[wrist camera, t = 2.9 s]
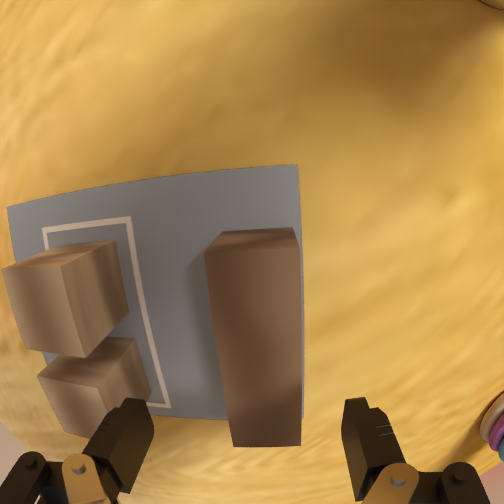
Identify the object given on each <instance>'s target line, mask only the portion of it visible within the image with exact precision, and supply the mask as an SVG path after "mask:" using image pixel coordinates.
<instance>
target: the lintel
mask: <svg viewBox="0 0 504 504" xmlns="http://www.w3.org/2000/svg"><path fill="white" fill-rule="evenodd" d="M204 259H205V268H206V276H207V284H208V292H209V299H210V307H211V314H212V321H213V328H214V335H215V342H216V348H217V355H218V361H219V368H220V374H221V380H222V386H223V392H224V398H225V404H226V409H227V415H228V420H229V426H230V431H231V437H232V442H233V447H288V446H301V421H302V300H301V266H300V246H299V244H298V241H297V238H296V235H295V232H294V230H293V227H284V228H267V229H251V230H236V231H222V233H221V234H220V235H219V236H218V237H217V238H216V239H215V241H214V242H213V243H212V244H211V245H210V246H209V247H208V249H207V250H206V251H205V252H204Z"/></svg>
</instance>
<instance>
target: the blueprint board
mask: <svg viewBox="0 0 504 504" xmlns="http://www.w3.org/2000/svg"><path fill="white" fill-rule="evenodd" d="M7 213H8V221H9V228H10V234H11V240H12V245H13V250H14V256H15V260H16V263H18V262H20V261H22V260H24V259H27V258H29V257H32V256H34V255H36V254H39V253H41V252H43V251H46V250H48V249H51V248H53V247H56V246H58V245H66V244H76V243H87V242H97V241H108V240H116V246H117V252H118V258H119V263H120V269H121V274H122V279H123V284H124V289H125V294H126V299H127V304H128V308H129V313H128V314H127V315H126V316H125V317H124V318H123V319H122V320H121V322H120V323H119V324H118V325H117V326H116V327H115V328H114V329H113V330H112V331H111V332H110V333H109V334H108V335H107V336H108V337H125V338H136V341H137V345H138V349H139V352H140V356H141V360H142V363H143V367H144V370H145V373H146V377H147V380H148V383H149V387H150V390H151V395H150V397H149V399H148V401H147V402H146V404H147V407H148V410H149V413H150V415H159V416H169V417H180V418H193V419H212V420H228V415H227V409H226V404H225V398H224V392H223V386H222V380H221V374H220V368H219V361H218V355H217V348H216V342H215V335H214V328H213V321H212V314H211V307H210V299H209V292H208V284H207V276H206V268H205V259H204V252H205V251H206V250H207V249H208V247H209V246H210V245H211V244H212V243H213V242H214V241H215V239H216V238H217V237H218V236H219V235H220V234H221V233H222V231H236V230H251V229H267V228H284V227H293V230H294V232H295V235H296V238H297V241H298V244H299V246H300V266H301V300H302V418H303V417H304V284H303V253H302V230H301V210H300V193H299V177H298V165H279V166H264V167H250V168H238V169H227V170H217V171H207V172H198V173H189V174H181V175H173V176H165V177H158V178H151V179H144V180H137V181H131V182H125V183H119V184H113V185H107V186H101V187H96V188H90V189H85V190H80V191H75V192H70V193H65V194H60V195H56V196H51V197H46V198H42V199H38V200H33V201H29V202H25V203H21V204H17V205H13V206H9V207H7ZM42 353H43V355H44V358H45V360H46V363H47V365H48V364H50V363H51V362H52V361H53V360H54V359H55V358H56V357H57V356H58V355H59V354H54V353H48V352H42Z"/></svg>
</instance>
